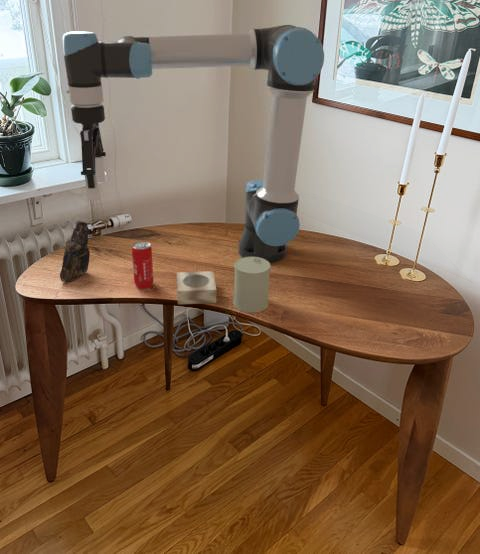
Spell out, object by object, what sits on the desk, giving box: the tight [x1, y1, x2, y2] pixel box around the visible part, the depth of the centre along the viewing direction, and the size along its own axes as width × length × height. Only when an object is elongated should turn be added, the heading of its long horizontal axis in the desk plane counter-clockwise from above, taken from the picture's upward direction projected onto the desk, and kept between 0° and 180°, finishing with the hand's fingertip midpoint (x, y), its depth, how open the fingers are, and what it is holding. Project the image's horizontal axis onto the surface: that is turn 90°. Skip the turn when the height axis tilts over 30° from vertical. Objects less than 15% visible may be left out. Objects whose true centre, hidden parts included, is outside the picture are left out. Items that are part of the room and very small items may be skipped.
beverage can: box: [131, 241, 154, 290], centre depth 141 cm, size 5×5×12 cm
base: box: [176, 270, 217, 305], centre depth 139 cm, size 10×10×4 cm
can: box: [233, 257, 271, 314], centre depth 134 cm, size 9×9×12 cm
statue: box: [59, 220, 91, 283], centre depth 144 cm, size 6×12×15 cm, turn 155°
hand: (97, 190), depth 133 cm, fingers open, 13 cm apart
